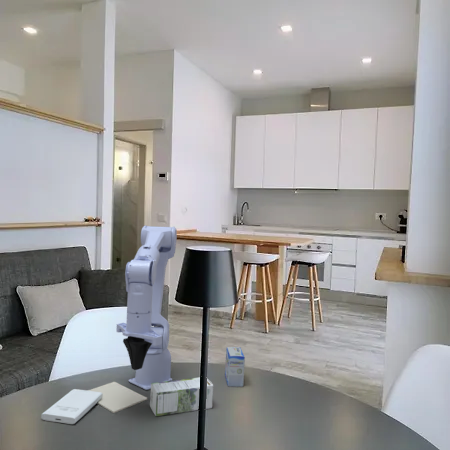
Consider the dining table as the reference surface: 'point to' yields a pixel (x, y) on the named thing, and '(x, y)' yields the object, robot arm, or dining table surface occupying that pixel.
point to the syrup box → (178, 396)
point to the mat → (117, 397)
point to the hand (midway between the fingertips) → (136, 368)
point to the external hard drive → (72, 406)
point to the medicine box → (234, 367)
